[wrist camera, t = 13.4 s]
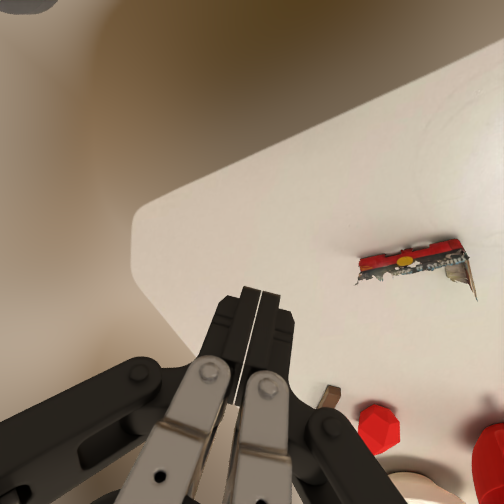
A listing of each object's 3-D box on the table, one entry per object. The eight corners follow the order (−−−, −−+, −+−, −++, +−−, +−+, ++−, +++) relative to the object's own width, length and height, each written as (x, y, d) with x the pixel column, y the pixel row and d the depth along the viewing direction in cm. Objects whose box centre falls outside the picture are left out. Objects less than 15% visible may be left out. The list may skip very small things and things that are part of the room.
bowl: (387, 512, 77) (391, 553, 71) (334, 466, 70) (335, 507, 65) (483, 499, 67) (497, 546, 61) (432, 445, 61) (443, 491, 55)
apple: (377, 423, 52) (355, 465, 54) (417, 431, 53) (393, 472, 55) (358, 391, 58) (338, 430, 60) (393, 399, 60) (373, 437, 62)
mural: (365, 301, 47) (368, 333, 42) (350, 256, 44) (352, 286, 39) (468, 282, 43) (484, 316, 38) (460, 231, 39) (477, 261, 35)
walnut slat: (323, 421, 63) (322, 429, 62) (311, 418, 63) (311, 426, 62) (340, 388, 57) (341, 396, 56) (328, 384, 57) (328, 393, 56)
